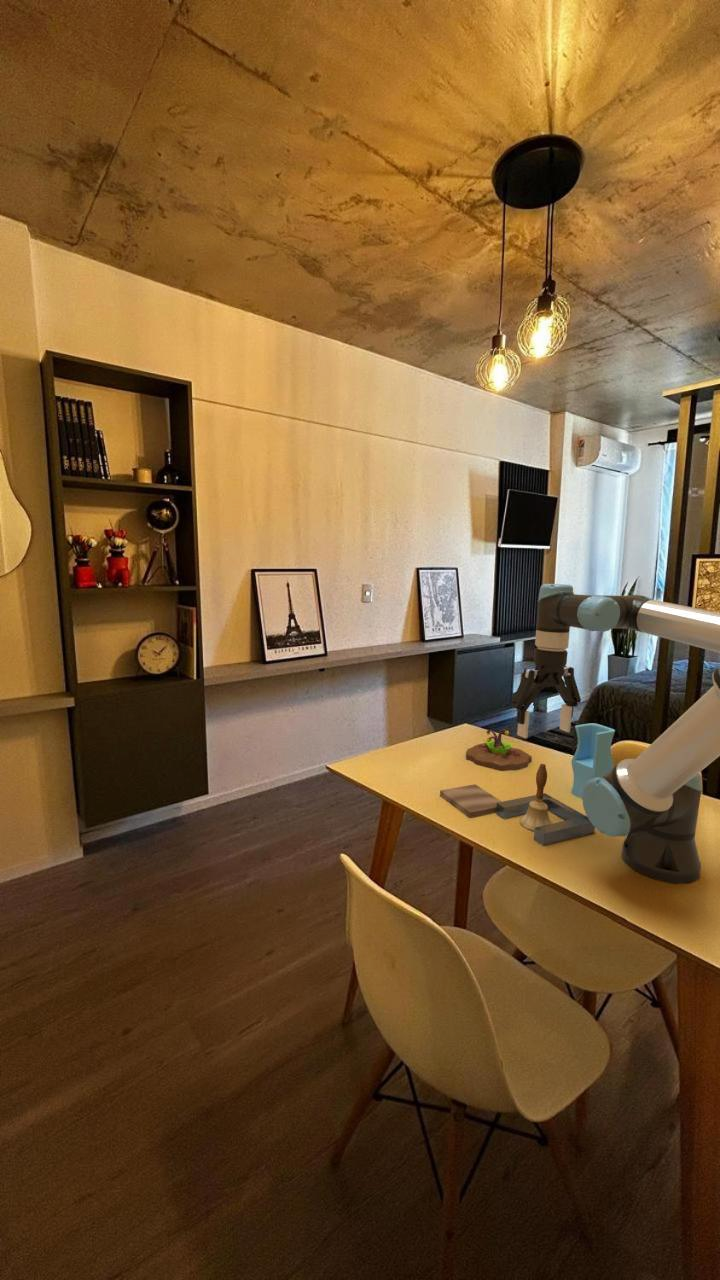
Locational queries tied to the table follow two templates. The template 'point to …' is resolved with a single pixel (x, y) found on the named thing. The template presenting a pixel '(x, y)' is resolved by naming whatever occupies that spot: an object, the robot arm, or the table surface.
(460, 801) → the walnut board
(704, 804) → the table surface
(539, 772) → the hand bell
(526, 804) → the silver c-shaped bracket
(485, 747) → the plant
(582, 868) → the table surface
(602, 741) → the light blue holder
